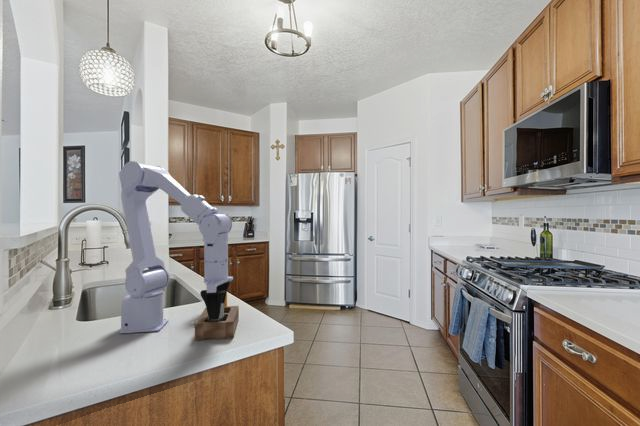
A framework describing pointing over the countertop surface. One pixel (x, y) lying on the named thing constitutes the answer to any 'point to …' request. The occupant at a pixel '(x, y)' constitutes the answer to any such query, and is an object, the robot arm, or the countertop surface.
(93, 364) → the countertop surface
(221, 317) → the peg
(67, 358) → the countertop surface
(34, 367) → the countertop surface
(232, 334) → the socket block
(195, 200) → the robot arm
